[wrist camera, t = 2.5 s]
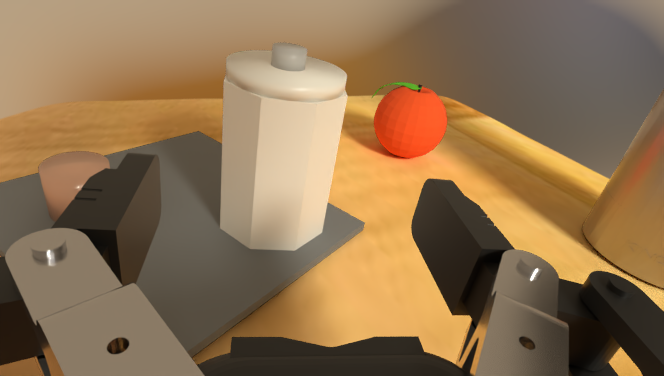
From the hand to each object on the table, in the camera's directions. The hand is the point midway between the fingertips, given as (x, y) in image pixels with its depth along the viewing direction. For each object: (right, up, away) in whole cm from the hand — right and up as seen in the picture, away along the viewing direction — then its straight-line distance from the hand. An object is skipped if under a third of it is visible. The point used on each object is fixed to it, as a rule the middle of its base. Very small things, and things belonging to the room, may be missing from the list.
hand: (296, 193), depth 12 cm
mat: (-9, -2, +14) cm, 16 cm away
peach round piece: (-14, -1, +12) cm, 18 cm away
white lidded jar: (-3, -2, +14) cm, 15 cm away
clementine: (+8, +4, +29) cm, 30 cm away
